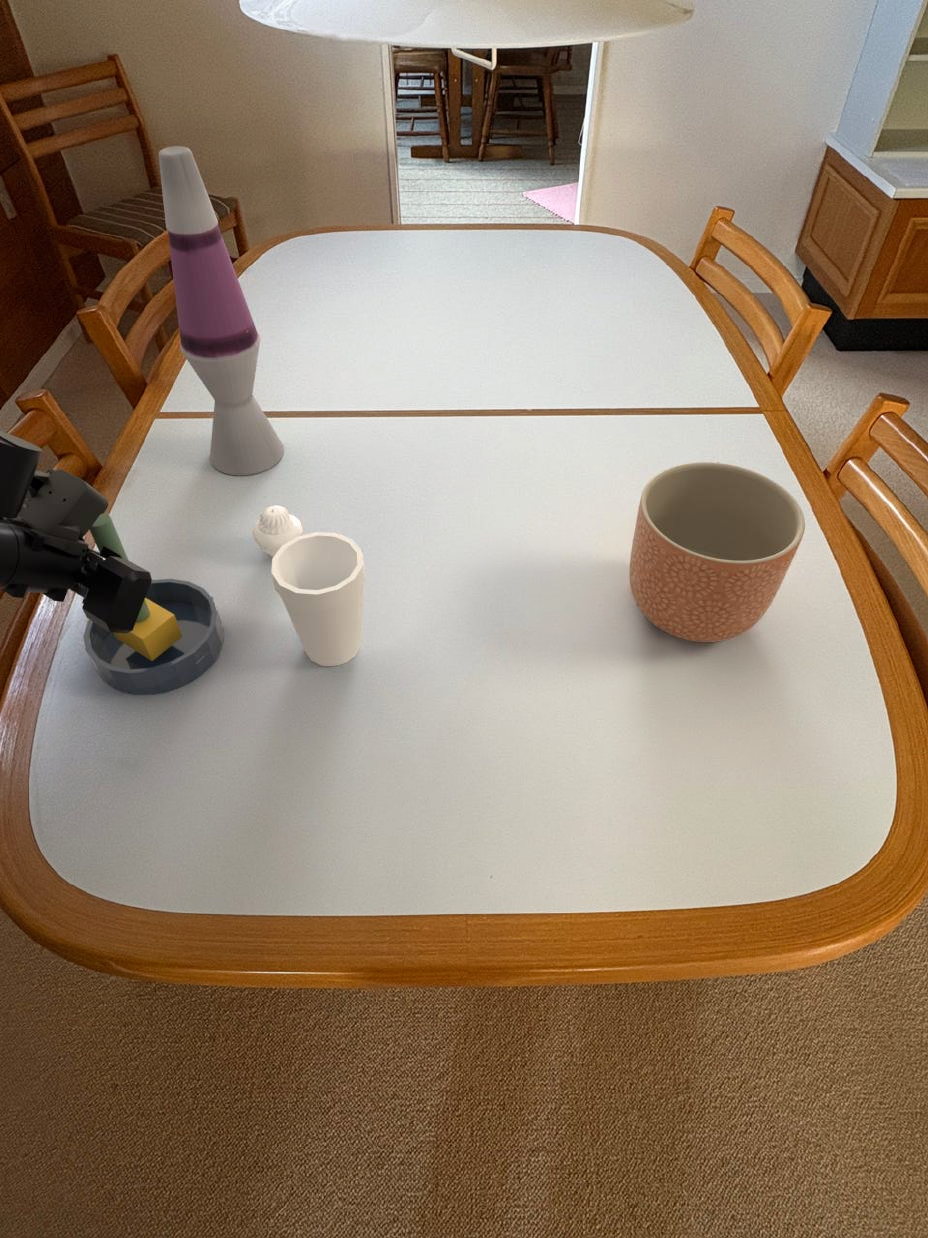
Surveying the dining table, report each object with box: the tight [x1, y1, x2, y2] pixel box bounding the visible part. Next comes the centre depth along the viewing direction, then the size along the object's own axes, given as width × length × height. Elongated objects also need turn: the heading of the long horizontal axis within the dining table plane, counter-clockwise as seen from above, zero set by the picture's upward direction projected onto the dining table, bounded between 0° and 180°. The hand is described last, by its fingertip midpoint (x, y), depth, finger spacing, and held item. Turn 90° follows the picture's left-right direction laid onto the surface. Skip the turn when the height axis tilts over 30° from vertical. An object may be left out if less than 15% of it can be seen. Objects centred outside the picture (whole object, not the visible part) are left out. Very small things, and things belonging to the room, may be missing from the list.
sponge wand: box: [88, 512, 183, 661], centre depth 82 cm, size 4×6×17 cm
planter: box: [628, 461, 806, 643], centre depth 89 cm, size 17×17×15 cm
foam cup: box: [270, 531, 366, 667], centre depth 85 cm, size 10×9×13 cm
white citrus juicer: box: [252, 505, 304, 558], centre depth 98 cm, size 6×6×7 cm
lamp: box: [158, 145, 285, 477], centre depth 101 cm, size 11×11×40 cm
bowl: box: [82, 578, 225, 696], centre depth 89 cm, size 14×14×4 cm
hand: (135, 575), depth 82 cm, fingers closed on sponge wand, 2 cm apart
